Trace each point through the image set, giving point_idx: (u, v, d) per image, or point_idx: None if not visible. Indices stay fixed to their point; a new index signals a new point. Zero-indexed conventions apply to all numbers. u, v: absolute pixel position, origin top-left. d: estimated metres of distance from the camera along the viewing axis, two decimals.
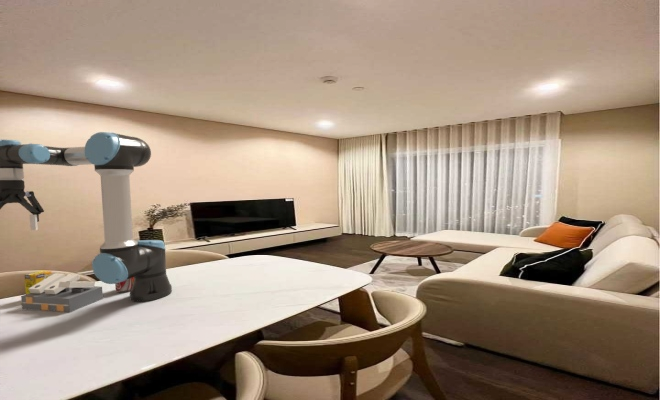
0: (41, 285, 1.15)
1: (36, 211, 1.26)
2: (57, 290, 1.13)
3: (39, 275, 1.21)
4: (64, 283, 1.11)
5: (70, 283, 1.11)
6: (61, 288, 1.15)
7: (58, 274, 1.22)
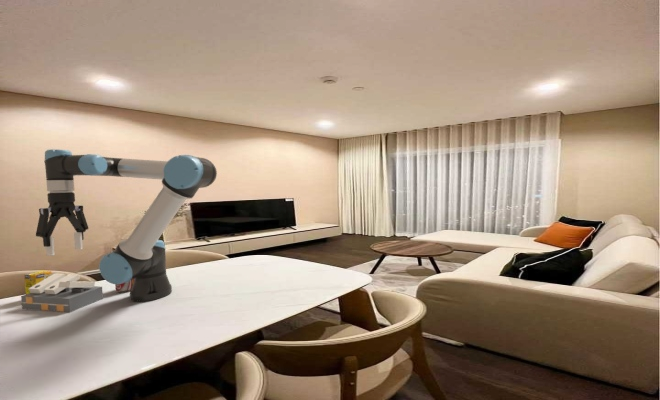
0: (41, 285, 1.15)
1: (81, 228, 1.17)
2: (57, 290, 1.13)
3: (39, 275, 1.21)
4: (64, 283, 1.11)
5: (70, 283, 1.11)
6: (61, 288, 1.15)
7: (58, 274, 1.22)
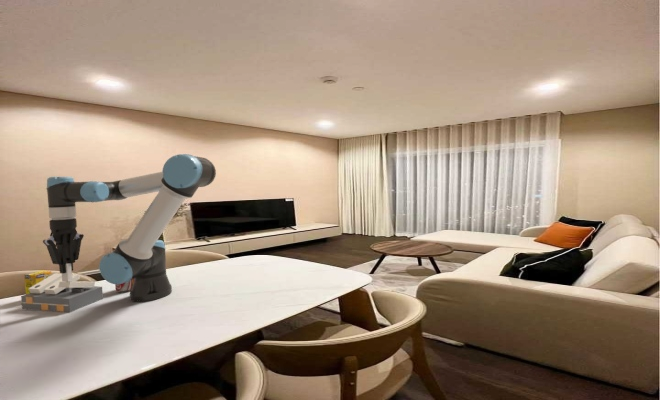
0: (41, 285, 1.15)
1: (72, 259, 1.13)
2: (57, 290, 1.13)
3: (39, 275, 1.21)
4: (64, 283, 1.11)
5: (70, 283, 1.11)
6: (61, 288, 1.15)
7: (58, 274, 1.22)
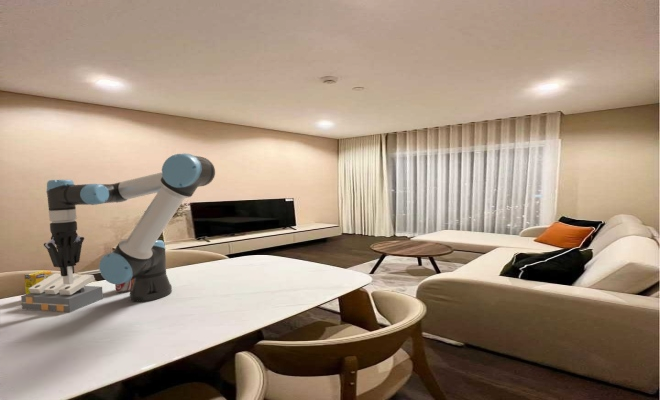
0: (41, 285, 1.15)
1: (73, 261, 1.13)
2: (57, 290, 1.13)
3: (39, 275, 1.21)
4: (64, 291, 1.11)
5: (70, 291, 1.11)
6: None
7: (58, 274, 1.22)
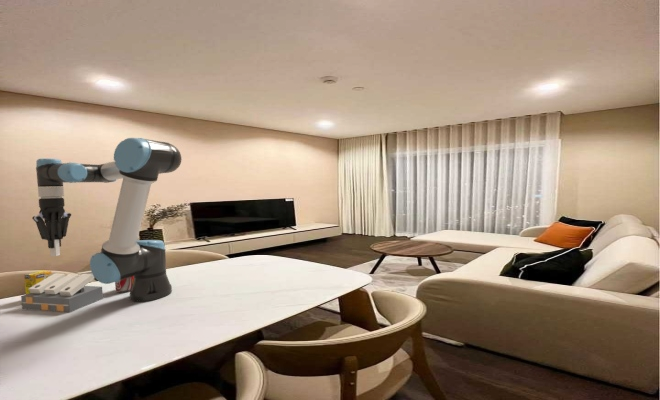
0: (41, 285, 1.15)
1: (60, 235, 1.22)
2: (57, 290, 1.13)
3: (39, 275, 1.21)
4: (64, 292, 1.12)
5: (70, 292, 1.11)
6: (61, 288, 1.15)
7: (58, 274, 1.22)
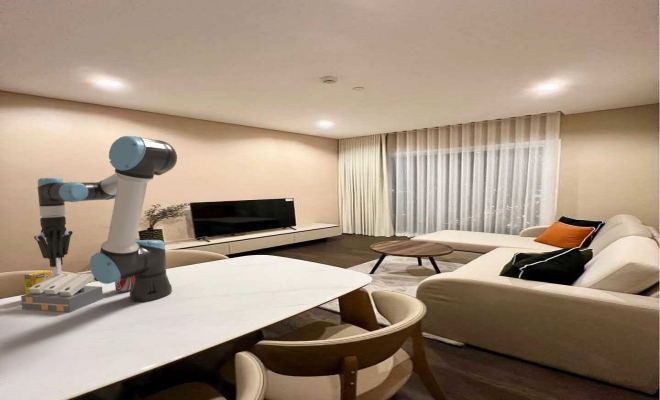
0: (41, 285, 1.15)
1: (61, 253, 1.23)
2: (57, 290, 1.13)
3: (39, 275, 1.21)
4: (64, 292, 1.12)
5: (70, 292, 1.11)
6: (61, 288, 1.15)
7: (58, 274, 1.22)
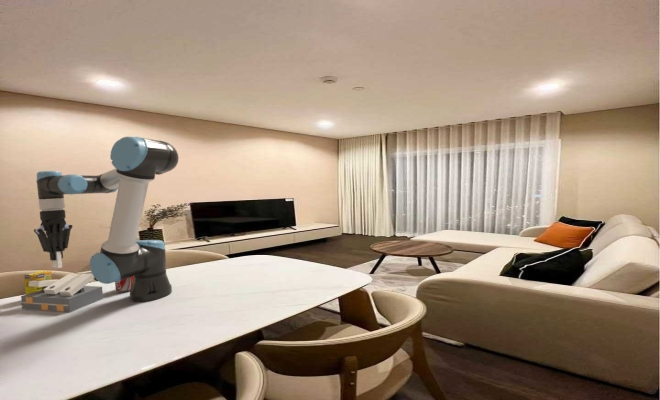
0: (42, 280, 1.16)
1: (61, 247, 1.22)
2: (57, 290, 1.13)
3: (39, 275, 1.21)
4: (64, 292, 1.12)
5: (70, 292, 1.11)
6: (61, 288, 1.15)
7: None
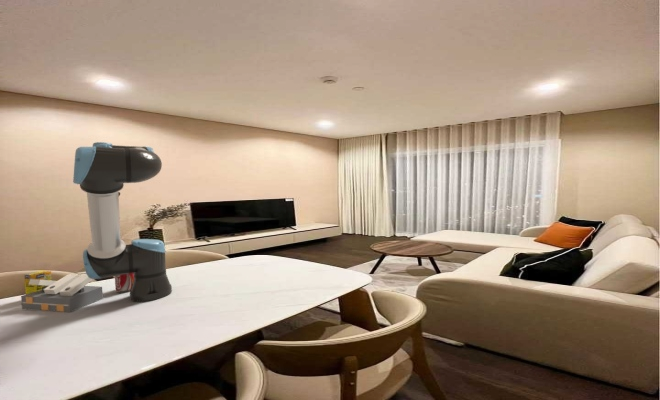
0: None
1: None
2: (57, 290, 1.13)
3: (39, 275, 1.21)
4: (64, 292, 1.12)
5: (70, 292, 1.11)
6: (61, 288, 1.15)
7: None
